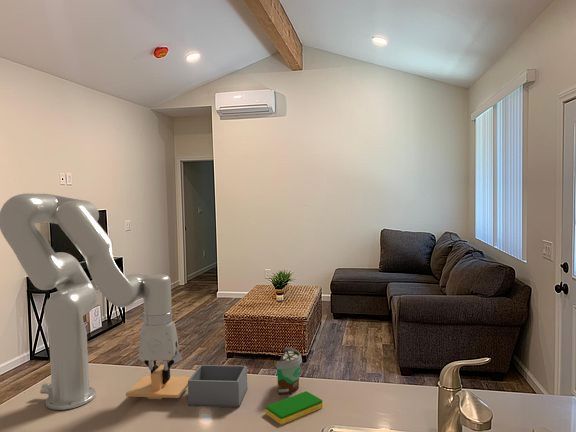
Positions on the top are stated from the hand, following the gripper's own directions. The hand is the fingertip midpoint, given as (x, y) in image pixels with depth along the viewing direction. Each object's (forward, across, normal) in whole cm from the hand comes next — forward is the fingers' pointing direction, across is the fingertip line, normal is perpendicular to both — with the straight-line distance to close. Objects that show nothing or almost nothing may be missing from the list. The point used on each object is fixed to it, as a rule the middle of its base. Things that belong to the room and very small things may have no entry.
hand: (160, 381), depth 123 cm
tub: (+4, +17, 0) cm, 18 cm away
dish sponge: (+5, +39, -6) cm, 40 cm away
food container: (+4, +37, +7) cm, 38 cm away
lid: (+3, 0, 0) cm, 3 cm away
